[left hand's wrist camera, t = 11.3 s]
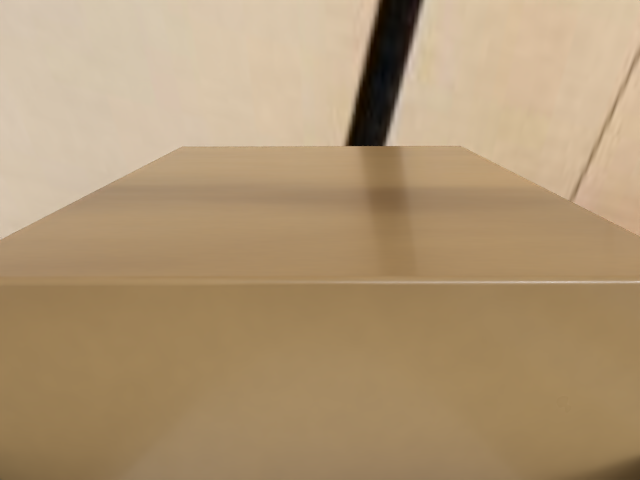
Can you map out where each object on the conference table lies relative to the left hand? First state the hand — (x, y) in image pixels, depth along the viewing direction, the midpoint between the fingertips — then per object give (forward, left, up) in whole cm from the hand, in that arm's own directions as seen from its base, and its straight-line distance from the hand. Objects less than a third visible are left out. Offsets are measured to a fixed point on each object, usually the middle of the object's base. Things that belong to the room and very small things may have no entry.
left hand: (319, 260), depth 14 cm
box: (+7, -6, -1) cm, 9 cm away
